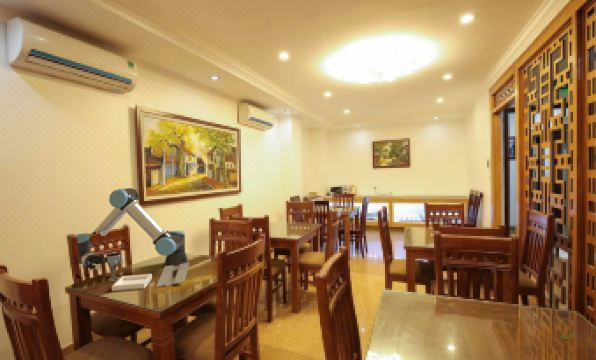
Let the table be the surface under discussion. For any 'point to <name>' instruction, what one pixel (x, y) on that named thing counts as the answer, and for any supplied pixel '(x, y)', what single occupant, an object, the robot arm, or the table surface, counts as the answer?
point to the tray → (132, 282)
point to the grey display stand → (173, 274)
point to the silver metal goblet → (114, 263)
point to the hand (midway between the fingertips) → (111, 264)
